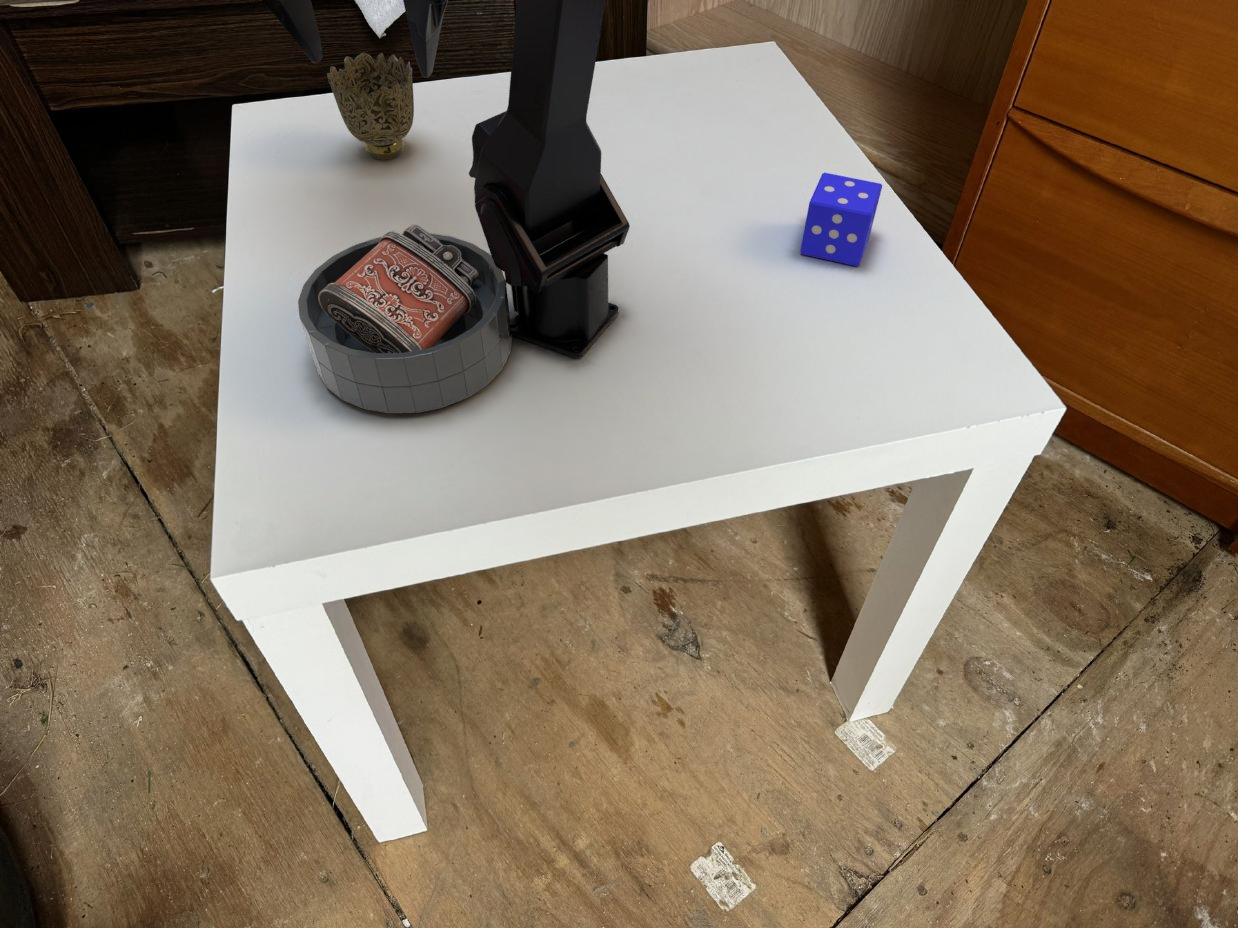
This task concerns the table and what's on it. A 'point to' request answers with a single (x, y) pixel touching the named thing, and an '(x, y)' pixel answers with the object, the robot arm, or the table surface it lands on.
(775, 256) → the table surface
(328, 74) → the cup
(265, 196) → the table surface
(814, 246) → the die
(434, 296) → the lighter
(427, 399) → the bowl
